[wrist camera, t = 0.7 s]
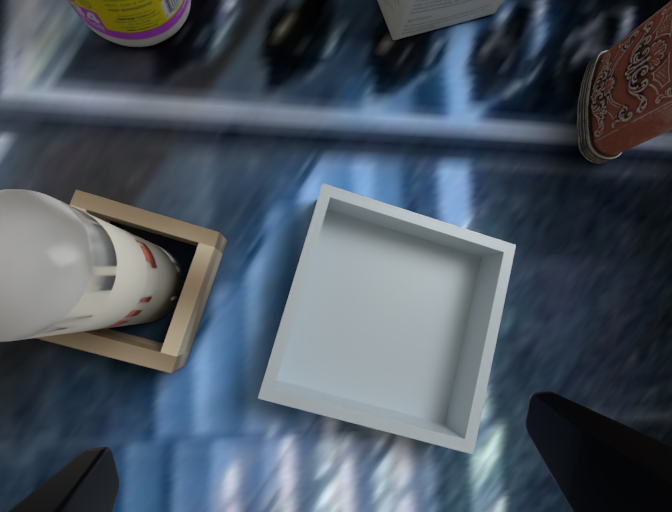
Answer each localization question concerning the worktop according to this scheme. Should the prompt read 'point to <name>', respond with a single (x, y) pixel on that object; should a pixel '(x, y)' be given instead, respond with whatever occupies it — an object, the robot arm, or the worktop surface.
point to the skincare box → (431, 14)
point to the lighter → (628, 91)
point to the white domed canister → (76, 271)
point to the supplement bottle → (133, 19)
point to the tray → (391, 321)
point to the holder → (190, 301)
